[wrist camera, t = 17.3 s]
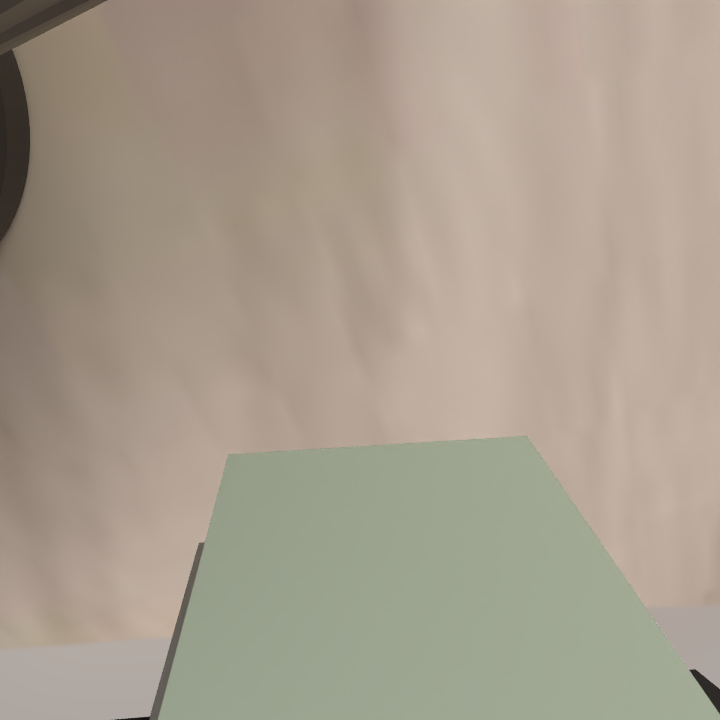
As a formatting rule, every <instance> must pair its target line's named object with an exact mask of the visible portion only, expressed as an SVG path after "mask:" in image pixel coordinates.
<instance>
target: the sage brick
mask: <svg viewBox="0 0 720 720" xmlns="http://www.w3.org/2000/svg"><path fill="white" fill-rule="evenodd" d="M158 720H720V714H719V712H718V711H717V709H716V708H715V707H714V705H713V704H712V702H711V701H710V699H709V698H708V696H707V695H706V694H705V692H704V691H703V689H702V688H701V686H700V685H699V683H698V682H697V681H696V679H695V678H694V676H693V675H692V673H691V672H690V670H689V669H688V668H687V666H686V665H685V663H684V662H683V661H682V659H681V658H680V656H679V655H678V653H677V652H676V650H675V649H674V648H673V646H672V644H671V643H670V642H669V640H668V639H667V637H666V636H665V634H664V633H663V631H662V630H661V629H660V627H659V626H658V624H657V623H656V622H655V620H654V618H653V617H652V616H651V614H650V613H649V611H648V610H647V608H646V607H645V605H644V604H643V603H642V601H641V600H640V598H639V597H638V595H637V594H636V592H635V591H634V590H633V588H632V587H631V585H630V584H629V582H628V581H627V579H626V578H625V577H624V575H623V574H622V572H621V571H620V569H619V568H618V566H617V565H616V564H615V562H614V561H613V559H612V558H611V556H610V555H609V553H608V552H607V551H606V549H605V548H604V546H603V545H602V543H601V542H600V540H599V539H598V538H597V536H596V535H595V533H594V532H593V530H592V529H591V527H590V526H589V525H588V523H587V522H586V520H585V519H584V517H583V516H582V514H581V513H580V512H579V510H578V509H577V507H576V506H575V504H574V503H573V501H572V500H571V499H570V497H569V496H568V494H567V493H566V491H565V490H564V488H563V487H562V486H561V484H560V483H559V481H558V480H557V478H556V477H555V475H554V474H553V473H552V471H551V470H550V468H549V467H548V465H547V464H546V462H545V461H544V460H543V458H542V457H541V455H540V454H539V452H538V451H537V449H536V448H535V447H534V445H533V444H532V442H531V441H530V439H529V438H528V436H518V437H502V438H486V439H470V440H454V441H437V442H421V443H405V444H389V445H373V446H357V447H341V448H325V449H309V450H293V451H277V452H261V453H244V454H228V458H227V461H226V465H225V469H224V473H223V477H222V480H221V484H220V488H219V492H218V495H217V499H216V503H215V507H214V510H213V514H212V518H211V522H210V525H209V529H208V533H207V537H206V540H205V544H204V548H203V552H202V556H201V559H200V563H199V567H198V571H197V574H196V578H195V582H194V586H193V589H192V593H191V597H190V601H189V604H188V608H187V612H186V616H185V620H184V623H183V627H182V631H181V635H180V638H179V642H178V646H177V650H176V653H175V657H174V661H173V665H172V668H171V672H170V676H169V680H168V683H167V687H166V691H165V695H164V699H163V702H162V706H161V710H160V714H159V717H158Z"/></svg>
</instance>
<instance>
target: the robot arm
mask: <svg viewBox="0 0 720 720" xmlns="http://www.w3.org/2000/svg"><path fill="white" fill-rule="evenodd" d="M105 1H107V0H0V240H1V239H2V237H3V235H4V234H5V232H6V231H7V229H8V227H9V225H10V223H11V221H12V219H13V217H14V215H15V213H16V210H17V208H18V206H19V203H20V200H21V197H22V193H23V190H24V186H25V181H26V177H27V171H28V163H29V151H30V126H29V116H28V108H27V102H26V96H25V91H24V87H23V82H22V78H21V75H20V71H19V68H18V65H17V62H16V59H15V56H14V53H13V51H12V49H13V48H15V47H17V46H19V45H21V44H23V43H25V42H27V41H29V40H31V39H33V38H35V37H37V36H39V35H41V34H43V33H45V32H46V31H48V30H50V29H52V28H54V27H56V26H58V25H60V24H62V23H64V22H66V21H68V20H70V19H72V18H74V17H76V16H78V15H80V14H81V13H83V12H85V11H87V10H89V9H91V8H93V7H95V6H97V5H99V4H101V3H103V2H105ZM204 544H205V542H204V543H199V545H198V548H197V552H196V555H195V559H194V562H193V566H192V570H191V573H190V577H189V580H188V584H187V587H186V591H185V594H184V598H183V601H182V605H181V609H180V612H179V616H178V619H177V623H176V626H175V630H174V633H173V637H172V640H171V644H170V648H169V651H168V655H167V658H166V662H165V666H164V669H163V672H162V676H161V680H160V683H159V687H158V690H157V694H156V697H155V701H154V704H153V708H152V711H151V715H150V717H140V718H128V719H117V720H158V717H159V714H160V710H161V706H162V702H163V699H164V695H165V691H166V687H167V683H168V680H169V676H170V672H171V668H172V665H173V661H174V657H175V653H176V650H177V646H178V642H179V638H180V635H181V631H182V627H183V623H184V620H185V616H186V612H187V608H188V604H189V601H190V597H191V593H192V589H193V586H194V582H195V578H196V574H197V571H198V567H199V563H200V559H201V556H202V552H203V548H204ZM690 672H691V673H692V675H693V676H694V678H695V679H696V681H697V682H698V683H699V685H700V686H701V688H702V689H703V691H704V692H705V694H706V695H707V696H708V698H709V699H710V701H711V702H712V704H713V705H714V707H715V708H716V709H717V711H718V712H719V714H720V689H719V688H718V687H716V686H715V685H714V684H713V683H711V682H710V681H709V680H708V679H706V678H705V677H704V676H703V675H701V674H700V673H699V672H698V671H697V670H690Z"/></svg>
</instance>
